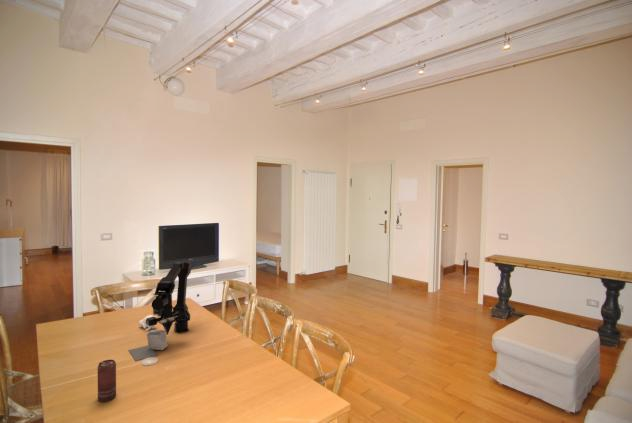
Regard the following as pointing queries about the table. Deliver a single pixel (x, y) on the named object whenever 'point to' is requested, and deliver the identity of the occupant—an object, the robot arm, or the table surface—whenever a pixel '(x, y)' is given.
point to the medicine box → (157, 339)
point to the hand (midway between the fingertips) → (167, 334)
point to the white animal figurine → (143, 323)
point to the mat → (142, 353)
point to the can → (106, 380)
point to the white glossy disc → (149, 361)
